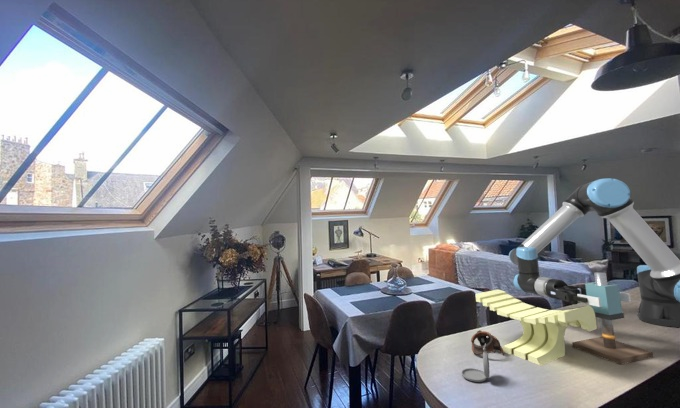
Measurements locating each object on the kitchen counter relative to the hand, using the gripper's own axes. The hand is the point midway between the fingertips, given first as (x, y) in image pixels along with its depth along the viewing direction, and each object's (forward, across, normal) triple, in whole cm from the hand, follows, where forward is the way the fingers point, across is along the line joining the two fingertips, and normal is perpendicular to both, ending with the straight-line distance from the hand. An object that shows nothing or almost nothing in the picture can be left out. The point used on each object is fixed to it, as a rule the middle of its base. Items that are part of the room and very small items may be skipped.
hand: (615, 300), depth 92 cm
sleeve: (-3, 0, -4) cm, 6 cm away
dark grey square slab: (-3, 0, -6) cm, 7 cm away
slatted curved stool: (-12, +22, -18) cm, 30 cm away
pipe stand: (-3, 0, -17) cm, 18 cm away
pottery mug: (-17, +37, -18) cm, 44 cm away
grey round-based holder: (-4, +51, -18) cm, 54 cm away
